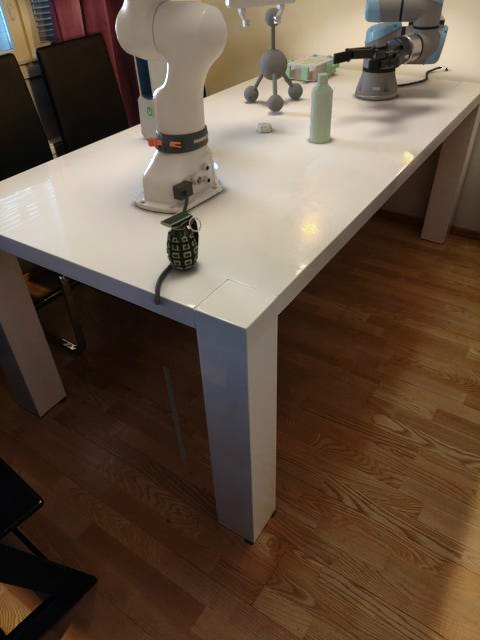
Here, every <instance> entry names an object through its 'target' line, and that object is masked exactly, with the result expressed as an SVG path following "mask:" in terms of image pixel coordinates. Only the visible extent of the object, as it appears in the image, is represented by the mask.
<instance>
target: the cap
mask: <svg viewBox="0 0 480 640" xmlns="http://www.w3.org/2000/svg"><path fill="white" fill-rule="evenodd" d="M257 130H258V132H259V133H270V132H272V123H270V122H260V123H258V124H257Z"/></svg>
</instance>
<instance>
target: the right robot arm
mask: <svg viewBox="0 0 480 640" xmlns="http://www.w3.org/2000/svg"><path fill="white" fill-rule="evenodd" d="M444 2H445V1H444V0H366V1H365V10H364V19H365V21H366V22H367V23H375V24H373V25H371V26H369V27H368V28H367V29H366V32H365V40H364V46H359V47H358V46H357V47H346V48H345V49H344V51H339V52H335V53H333V56H334V58H333V64H339V65H340V64H343V63H346V62H347V63H350V62H351V61H352V60H362V69H361V70H362V72H361V75H360V76H359V80H358V82H357V85H356V87H355V90H354V91H355V92H354V96H355V97H356V98H357V99H361V100H365V101H386V100H387V101H388V100H393V99H395V98H397V97H398V92H399V91H398V90H399V88H403V87H408V86H414V85H418V84H421V83H425V82H427V81H428V79H429V73H432V72H434V71H437V70H442V69H441V68H442V67H440V66H436V67H434V68H431V69H428V70H427V71H426V72H425V76H424V77H425V78H423V79H420V80H416V81H412V82H407V83H400V84H399V83H398V82H397V75H396V69H398V68H400V67H401V66H402V65H405V66H406V65H415V66H416V65H419V66H421V65H422V66H425V65H435V64H436V63H438V61H439V60H440V58H441V55H442V52H443V49H444V46H445V43H446V39H447V35H448V31H449V25H447V24H445V23H446V18H445V16H444V15H443V13H442V12H443V6H444ZM403 23H408V24H407V25H403ZM444 70H445V72H449V68H448V67H446V69H444Z"/></svg>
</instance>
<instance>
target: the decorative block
mask: <svg viewBox="0 0 480 640" xmlns="http://www.w3.org/2000/svg"><path fill="white" fill-rule="evenodd" d="M333 58H334V55H330V54H327V55H321V54H317V53H313V54H312V55H310V56H303V57H300V58H298V59H295V60H294V59H289V60H288V62H287V70H286V72H285V73H286V75H287V76H288V77H289V79H290V80H294V81H295V80H297V81H305V82H306V81H307V82H318V74H319V73H328V77H329V76H331V75H333V74H334V73H335V72H336V71H337V69H338V68H340V63H339V64H333Z"/></svg>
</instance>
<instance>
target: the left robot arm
mask: <svg viewBox="0 0 480 640" xmlns="http://www.w3.org/2000/svg"><path fill="white" fill-rule="evenodd" d="M296 1H297V0H224V5H225V6H226V9H228V10H237V13H238V15H239V17H240V19H241V21H242V27H243V28H250V27H251V25H250V22H251V21H250V19H248V18H247V17H246V15H245V14H246V9H249V8H259V7H260V8H261V7H270V6H276V8H277V9H278V12H277V15H276V16H274V24H278V25H281V23H282V15H283V13H284V11H285V9H286V7H285V6H286V5H289V4H290V5H291V4H295V3H296ZM115 33H116V38H117V42H118V43H119V45H120V47H121V49H122V50H124V52H125V53H127V54H128V55H130V56H133V57H134V56H136V57H139V58H141V59H144V60H154V61H167V66H168V70H167V77H166V80H165V81H164V82H163V83H162V84H160V85H159V86H158V87H157V89H156V90H155V92H154V96H153V101H154V108H155V114H156V121H157V128H158V129H157V130H156V138H152V137H150V138H149V139H147V146H149V147H151V148H152V147H154V148H155V151H154V153H153V155H152V157H151V159H150V162H149V163H148V165H147V167H146V169H145V172H144V173H143V176H142V192H140V193H139V195H138V196H137V197H135V199H134V205H135V206H137V207H138V208H140V209H142V210H143V209H144V210H147V211H151V212H157V213H164V214H177V213H179V212H181V211H184V212H187V211H189V210H190V209H193V208H194V207H196V206H198V205H199V204H201V203H203V202H205V201H207V200H208V199H210V198H212V197H214V196H215V195H217V194H219V193H220V192H222V191H223V185H222V184H220V183H219V180H218V174H217V169H218V164H217V163H216V162H215V156H214V155H213V153H212V152H211V149H210V147H209V145H208V143H209V130H208V126H207V124H206V121H205V103H204V89H205V83H206V79H207V76H208V73H209V71H210V69H211V67H212V65H214V63H215V62H216V61H217V60H218V58H220V57H221V55H222V54H223V51H224V49H225V47H226V44H227V39H228V27H227V22H226V20H225V17H224V15H223V13H222V12H221V10H220V9H219V8H218V7H217V6H215V5H211V4H208V3H205V2H201V1H197V0H124V1H123V4H122V6H121V8H120V10H119V11H118V13H117V15H116V20H115ZM173 267H174V266H172V264H171V262H169V264H168V265H167V266H166V267H165V269H163V271H162V272H161V273H160V275H159V276H158V278H157V281H156V283H155V287H154V304H155V306H159V305H160V304H161V296H160V295H161V284H162V282H163V281H164V278H165V277H166V275H167V274H168V273H169V272H170V271H171V270H172V269H173ZM163 370H164V376H165V381H166V386H167V391H168V397H169V401H170V406H171V412H172V417H173V420H174V425H175V431H176V436H177V441H178V446H179V451H180V455H181V456H180V457H181V461H182V463H183V464H185V463H186V464H187V458H186V453H185V448H184V442H183V436H182V432H181V431H182V430H181V427H180V422H179V417H178V412H177V407H176V402H175V397H174V396H175V395H174V392H173V386H172V380H171V376H170V370H169V368H168V367H167V366H165V365H163Z"/></svg>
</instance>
